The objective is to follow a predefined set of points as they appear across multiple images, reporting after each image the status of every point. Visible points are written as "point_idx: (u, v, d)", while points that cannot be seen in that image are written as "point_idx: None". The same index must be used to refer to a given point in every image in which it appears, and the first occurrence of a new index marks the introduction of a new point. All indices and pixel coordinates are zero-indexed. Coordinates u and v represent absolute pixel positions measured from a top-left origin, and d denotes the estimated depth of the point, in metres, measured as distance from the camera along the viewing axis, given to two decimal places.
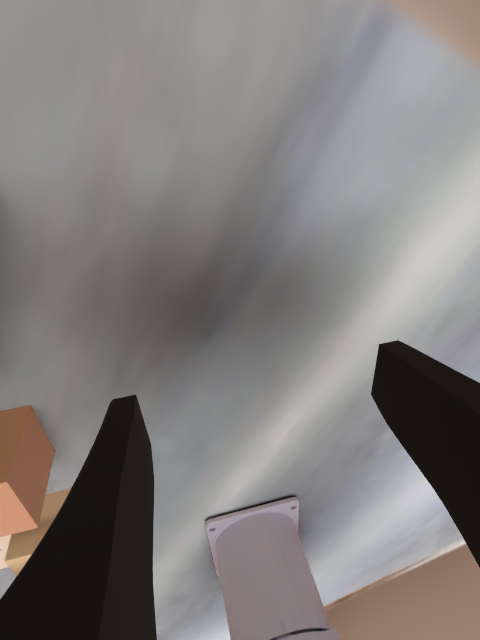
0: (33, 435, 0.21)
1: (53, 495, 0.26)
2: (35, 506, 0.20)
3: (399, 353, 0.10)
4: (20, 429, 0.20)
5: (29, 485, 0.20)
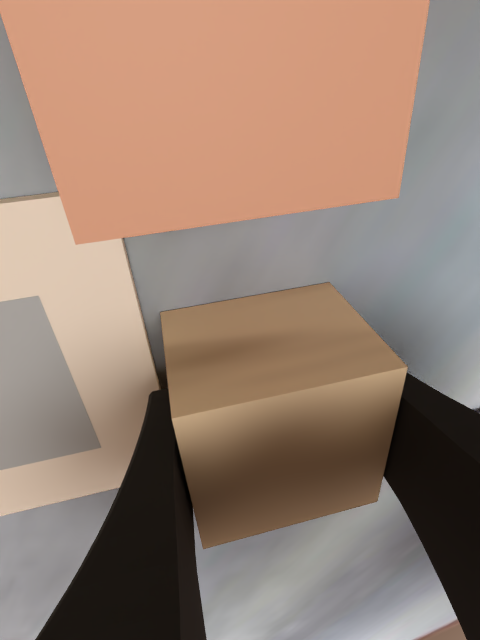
0: None
1: (238, 304, 0.11)
2: None
3: None
4: None
5: None
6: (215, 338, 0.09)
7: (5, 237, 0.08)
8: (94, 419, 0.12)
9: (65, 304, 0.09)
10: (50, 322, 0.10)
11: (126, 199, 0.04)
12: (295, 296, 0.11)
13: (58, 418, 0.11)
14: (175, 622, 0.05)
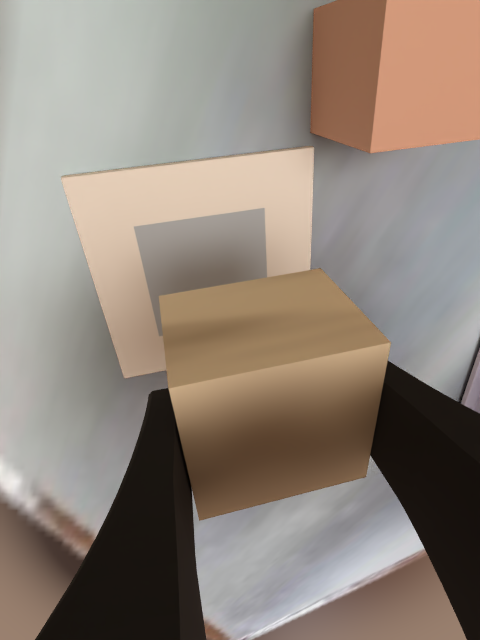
0: None
1: (233, 288, 0.11)
2: None
3: None
4: None
5: None
6: (211, 318, 0.10)
7: (259, 172, 0.16)
8: None
9: (275, 214, 0.17)
10: (264, 225, 0.17)
11: (391, 135, 0.12)
12: (287, 281, 0.11)
13: None
14: (175, 622, 0.05)
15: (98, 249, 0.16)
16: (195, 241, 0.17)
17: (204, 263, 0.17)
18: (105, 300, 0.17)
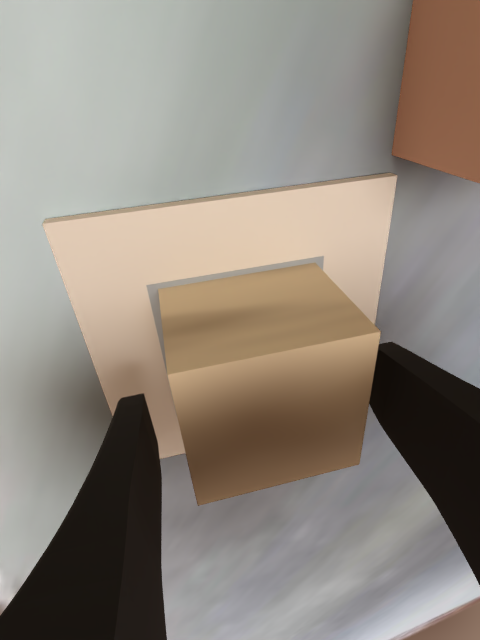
0: None
1: (230, 281, 0.12)
2: None
3: (392, 354, 0.10)
4: None
5: None
6: (208, 310, 0.10)
7: (320, 210, 0.11)
8: None
9: (337, 263, 0.13)
10: None
11: None
12: (283, 274, 0.12)
13: None
14: None
15: (97, 316, 0.12)
16: None
17: None
18: (106, 378, 0.13)
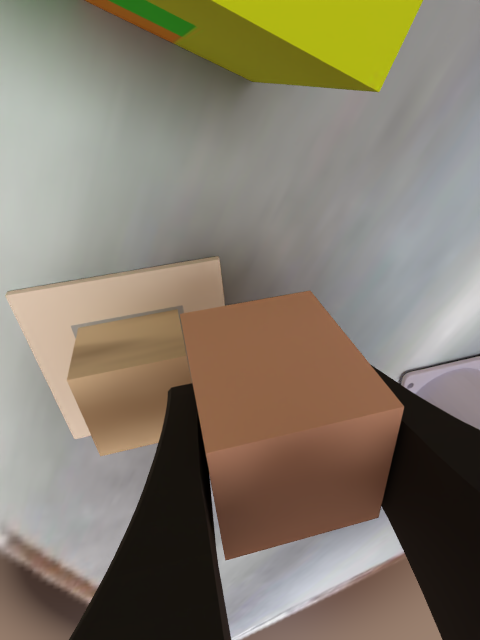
0: None
1: (121, 323, 0.19)
2: None
3: None
4: (330, 323, 0.10)
5: None
6: (101, 342, 0.18)
7: (174, 280, 0.19)
8: None
9: (193, 309, 0.20)
10: None
11: (250, 544, 0.09)
12: (154, 318, 0.19)
13: None
14: (215, 610, 0.05)
15: (42, 344, 0.19)
16: None
17: None
18: (52, 381, 0.21)
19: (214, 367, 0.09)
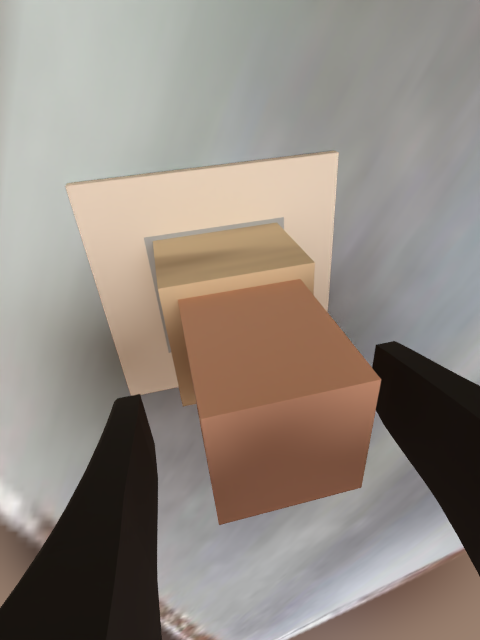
0: None
1: (209, 235, 0.15)
2: None
3: (396, 354, 0.10)
4: (317, 307, 0.11)
5: None
6: (190, 252, 0.14)
7: (279, 179, 0.15)
8: None
9: (295, 223, 0.16)
10: None
11: (242, 509, 0.10)
12: (250, 230, 0.15)
13: None
14: None
15: (105, 262, 0.15)
16: None
17: None
18: (112, 315, 0.16)
19: (209, 346, 0.10)
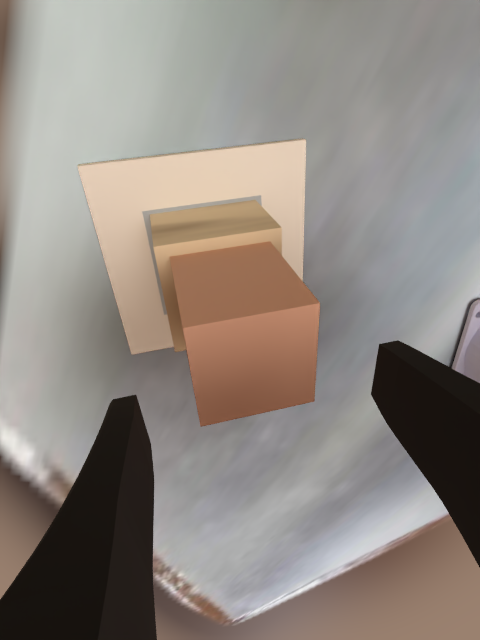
0: None
1: (197, 210, 0.18)
2: None
3: (399, 353, 0.10)
4: (280, 260, 0.14)
5: None
6: (181, 222, 0.16)
7: (256, 162, 0.17)
8: None
9: (271, 201, 0.19)
10: None
11: (218, 413, 0.13)
12: (232, 205, 0.18)
13: None
14: None
15: (110, 232, 0.18)
16: None
17: None
18: (115, 280, 0.19)
19: (192, 285, 0.13)
